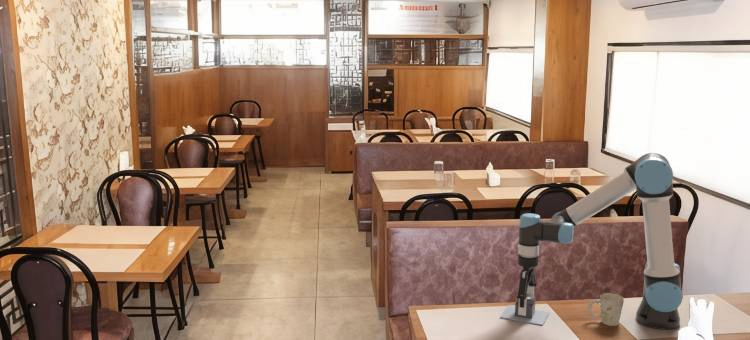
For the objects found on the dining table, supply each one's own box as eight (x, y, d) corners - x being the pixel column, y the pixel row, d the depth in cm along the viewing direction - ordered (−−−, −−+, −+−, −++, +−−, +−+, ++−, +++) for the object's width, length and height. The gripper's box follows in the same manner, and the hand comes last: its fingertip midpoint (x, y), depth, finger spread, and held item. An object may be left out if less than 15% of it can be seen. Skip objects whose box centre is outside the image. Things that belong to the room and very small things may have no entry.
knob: (535, 312, 253) (537, 294, 252) (532, 319, 247) (533, 300, 245) (517, 309, 256) (518, 291, 255) (513, 316, 250) (514, 297, 248)
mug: (623, 328, 241) (625, 302, 239) (587, 325, 243) (589, 299, 241) (620, 319, 249) (622, 294, 247) (585, 316, 251) (587, 291, 249)
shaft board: (549, 313, 254) (550, 300, 253) (542, 325, 242) (543, 312, 241) (508, 305, 261) (508, 293, 260) (499, 317, 249) (500, 305, 248)
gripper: (525, 244, 260) (523, 295, 264) (510, 263, 237) (508, 318, 241) (545, 247, 257) (542, 298, 260) (531, 265, 234) (528, 322, 238)
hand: (526, 308), depth 251 cm, fingers open, 13 cm apart
